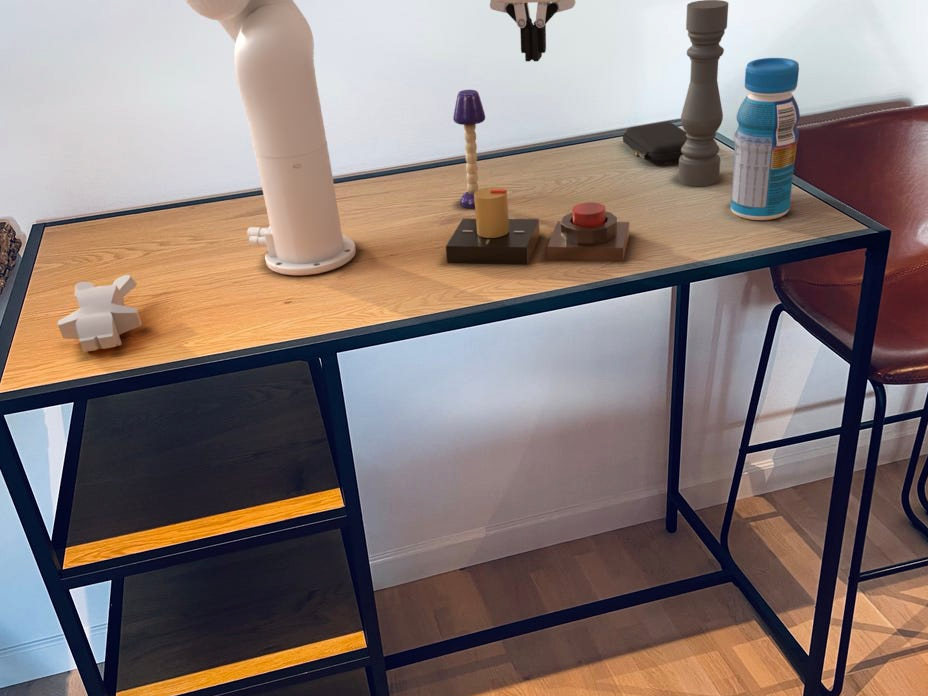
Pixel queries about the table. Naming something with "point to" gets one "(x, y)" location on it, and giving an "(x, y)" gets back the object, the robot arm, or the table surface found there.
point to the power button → (588, 214)
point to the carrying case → (656, 142)
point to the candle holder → (703, 93)
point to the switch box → (589, 241)
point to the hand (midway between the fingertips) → (533, 58)
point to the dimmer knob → (491, 212)
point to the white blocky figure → (101, 315)
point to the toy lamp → (469, 138)
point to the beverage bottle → (766, 140)
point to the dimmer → (493, 244)
